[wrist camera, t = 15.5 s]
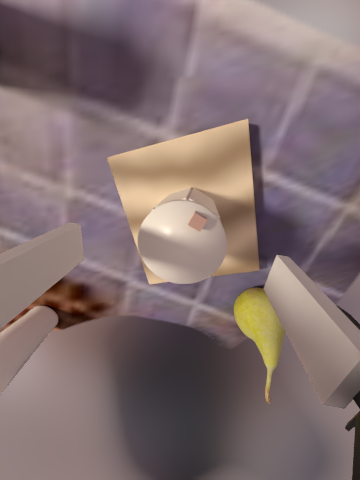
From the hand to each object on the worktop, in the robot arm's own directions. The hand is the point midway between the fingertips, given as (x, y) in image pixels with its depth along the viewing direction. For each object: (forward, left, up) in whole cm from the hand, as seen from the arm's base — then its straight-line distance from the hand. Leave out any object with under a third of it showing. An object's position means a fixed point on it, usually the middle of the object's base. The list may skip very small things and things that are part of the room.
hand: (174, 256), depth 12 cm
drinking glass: (+14, -31, -13) cm, 36 cm away
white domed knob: (0, 0, -11) cm, 11 cm away
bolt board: (0, 0, -13) cm, 13 cm away
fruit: (+15, +7, -13) cm, 21 cm away
